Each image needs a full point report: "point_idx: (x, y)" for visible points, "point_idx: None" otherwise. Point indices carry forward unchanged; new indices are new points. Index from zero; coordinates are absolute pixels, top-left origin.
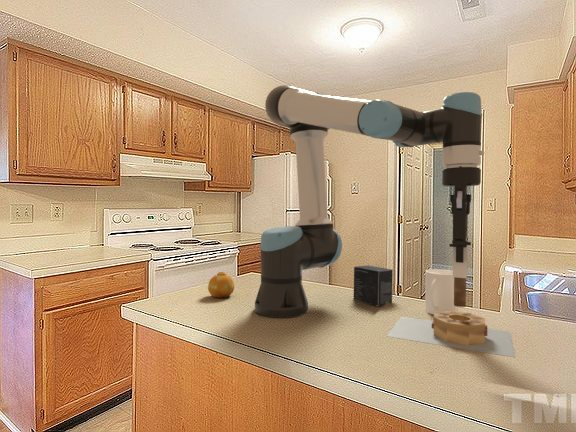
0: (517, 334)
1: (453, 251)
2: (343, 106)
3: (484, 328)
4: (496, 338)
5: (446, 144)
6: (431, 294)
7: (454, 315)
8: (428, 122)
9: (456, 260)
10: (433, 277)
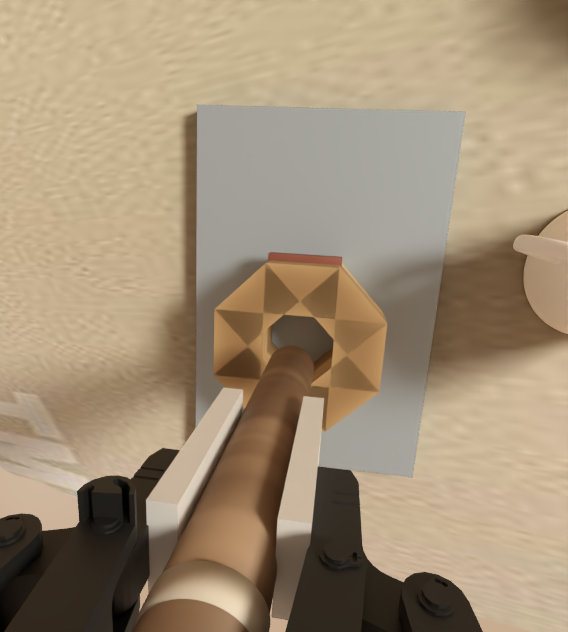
0: (441, 491)
1: (165, 479)
2: None
3: None
4: (324, 431)
5: None
6: (523, 244)
7: (329, 334)
8: None
9: (151, 458)
10: None
